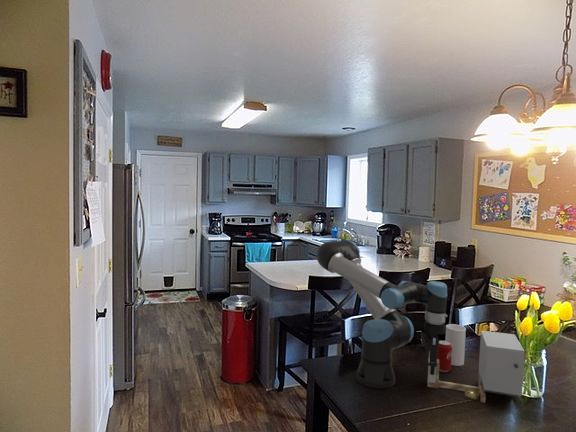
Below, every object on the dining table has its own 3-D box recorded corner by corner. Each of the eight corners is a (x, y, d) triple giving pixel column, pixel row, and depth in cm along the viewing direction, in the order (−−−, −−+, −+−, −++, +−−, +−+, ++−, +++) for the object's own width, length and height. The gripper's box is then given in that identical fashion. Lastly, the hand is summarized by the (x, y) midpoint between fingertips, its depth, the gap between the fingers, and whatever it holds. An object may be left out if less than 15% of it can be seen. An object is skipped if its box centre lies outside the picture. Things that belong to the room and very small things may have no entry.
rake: (427, 393, 159) (428, 367, 158) (427, 382, 168) (428, 357, 167) (485, 402, 152) (486, 376, 152) (482, 391, 161) (483, 365, 161)
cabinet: (483, 405, 150) (487, 347, 149) (478, 383, 168) (480, 330, 167) (521, 412, 146) (525, 352, 145) (511, 388, 164) (514, 334, 163)
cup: (467, 363, 188) (469, 328, 187) (456, 367, 183) (458, 331, 182) (451, 357, 194) (453, 323, 193) (440, 360, 190) (442, 326, 189)
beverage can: (452, 373, 176) (453, 345, 175) (436, 372, 177) (437, 344, 177) (449, 367, 182) (450, 340, 182) (434, 366, 184) (435, 339, 183)
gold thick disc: (464, 398, 156) (465, 393, 156) (464, 392, 160) (465, 387, 160) (479, 401, 154) (480, 396, 154) (479, 395, 158) (479, 390, 158)
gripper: (446, 333, 151) (442, 390, 152) (444, 314, 174) (440, 363, 176) (424, 330, 153) (420, 386, 155) (425, 311, 177) (422, 360, 178)
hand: (431, 374), depth 165 cm, fingers open, 13 cm apart
